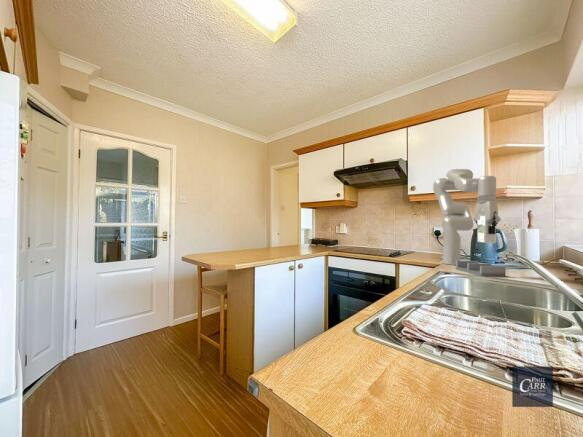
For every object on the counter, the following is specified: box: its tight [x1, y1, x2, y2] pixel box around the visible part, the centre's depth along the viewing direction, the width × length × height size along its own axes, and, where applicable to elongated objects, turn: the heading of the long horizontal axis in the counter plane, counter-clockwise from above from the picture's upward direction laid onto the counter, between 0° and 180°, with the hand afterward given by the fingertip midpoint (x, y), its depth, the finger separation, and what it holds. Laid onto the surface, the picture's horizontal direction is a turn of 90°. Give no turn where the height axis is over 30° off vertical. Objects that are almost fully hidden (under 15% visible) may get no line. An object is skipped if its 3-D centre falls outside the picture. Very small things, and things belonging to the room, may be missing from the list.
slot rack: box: [455, 260, 507, 277], centre depth 132 cm, size 17×13×5 cm
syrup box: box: [476, 216, 497, 244], centre depth 128 cm, size 6×6×14 cm
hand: (486, 233), depth 128 cm, fingers closed on syrup box, 5 cm apart
